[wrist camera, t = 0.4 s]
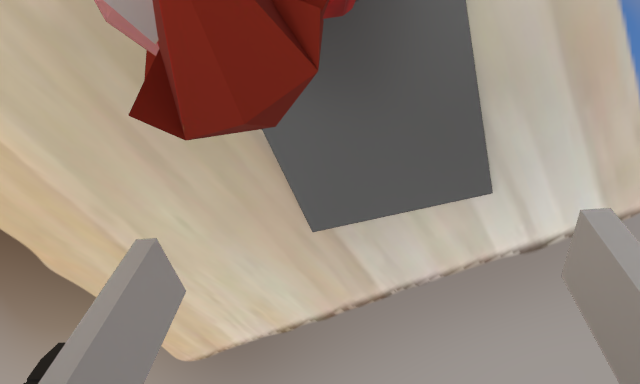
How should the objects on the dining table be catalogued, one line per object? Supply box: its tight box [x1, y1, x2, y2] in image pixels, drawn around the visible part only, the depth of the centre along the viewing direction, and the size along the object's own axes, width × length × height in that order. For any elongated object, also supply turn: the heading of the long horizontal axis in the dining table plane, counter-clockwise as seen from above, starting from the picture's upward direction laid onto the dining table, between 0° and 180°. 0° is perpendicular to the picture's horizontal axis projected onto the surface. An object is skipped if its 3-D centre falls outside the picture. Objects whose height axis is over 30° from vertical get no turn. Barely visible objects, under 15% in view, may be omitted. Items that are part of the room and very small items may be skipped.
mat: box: [262, 0, 492, 232], centre depth 40 cm, size 24×22×1 cm
